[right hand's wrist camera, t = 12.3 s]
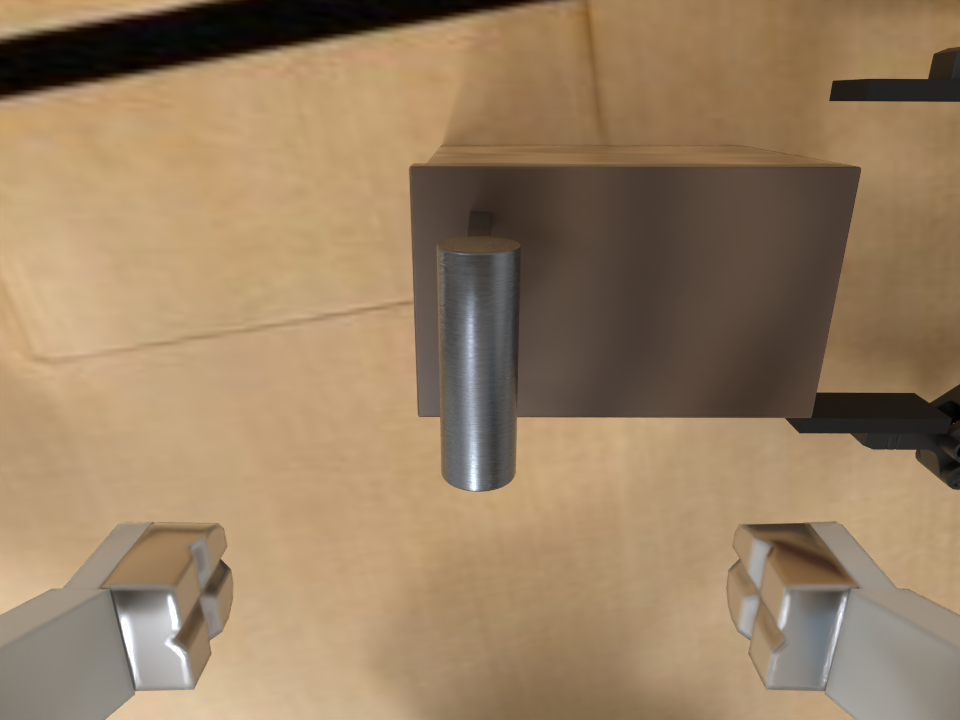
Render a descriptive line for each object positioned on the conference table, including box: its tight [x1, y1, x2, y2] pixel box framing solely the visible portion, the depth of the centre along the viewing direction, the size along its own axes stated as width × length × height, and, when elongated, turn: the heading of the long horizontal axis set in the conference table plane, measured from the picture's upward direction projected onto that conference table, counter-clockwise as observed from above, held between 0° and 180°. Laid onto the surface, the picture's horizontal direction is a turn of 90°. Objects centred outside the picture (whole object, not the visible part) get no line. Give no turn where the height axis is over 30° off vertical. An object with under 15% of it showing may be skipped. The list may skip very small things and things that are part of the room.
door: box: [409, 164, 861, 491], centre depth 21 cm, size 15×9×8 cm, turn 90°
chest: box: [427, 145, 843, 165], centre depth 30 cm, size 15×9×10 cm, turn 90°
